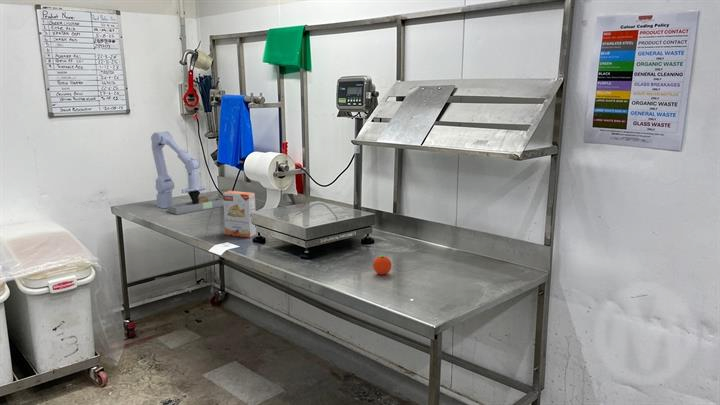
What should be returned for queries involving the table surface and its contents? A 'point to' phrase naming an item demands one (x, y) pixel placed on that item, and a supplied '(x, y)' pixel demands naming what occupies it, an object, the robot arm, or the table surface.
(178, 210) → the trap channel
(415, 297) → the table surface
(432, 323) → the table surface
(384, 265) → the clementine
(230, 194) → the cracker box
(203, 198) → the walnut block
